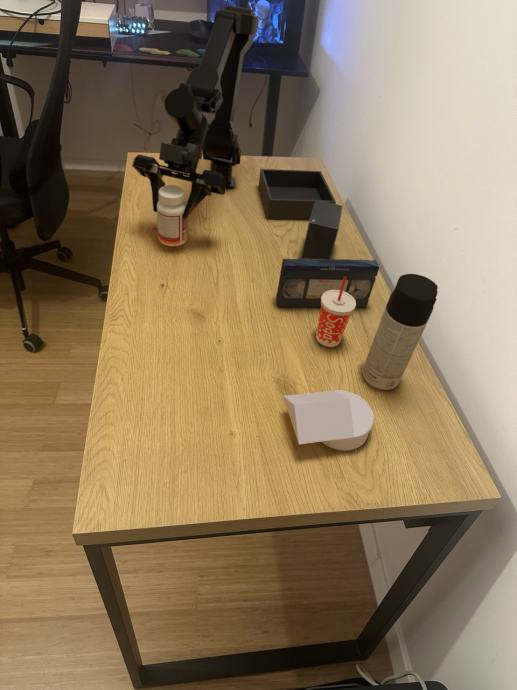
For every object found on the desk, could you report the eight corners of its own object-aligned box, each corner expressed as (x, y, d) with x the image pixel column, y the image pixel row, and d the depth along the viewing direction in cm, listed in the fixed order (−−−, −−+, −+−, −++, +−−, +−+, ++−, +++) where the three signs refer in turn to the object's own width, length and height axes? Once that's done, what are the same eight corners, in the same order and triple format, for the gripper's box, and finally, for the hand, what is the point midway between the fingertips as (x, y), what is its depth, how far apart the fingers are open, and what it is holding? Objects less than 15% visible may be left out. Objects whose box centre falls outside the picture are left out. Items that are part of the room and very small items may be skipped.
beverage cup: (305, 339, 92) (320, 277, 82) (321, 322, 96) (337, 262, 86) (335, 354, 90) (353, 293, 80) (350, 336, 94) (369, 276, 84)
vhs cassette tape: (276, 307, 98) (284, 265, 91) (275, 297, 100) (282, 255, 93) (367, 309, 100) (380, 268, 93) (363, 299, 102) (376, 259, 95)
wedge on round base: (295, 457, 73) (376, 446, 76) (302, 430, 69) (389, 419, 72) (280, 409, 80) (356, 400, 82) (286, 381, 75) (366, 373, 78)
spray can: (401, 370, 89) (442, 279, 75) (396, 397, 84) (439, 305, 70) (365, 358, 90) (398, 267, 76) (358, 384, 85) (392, 292, 71)
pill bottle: (177, 228, 111) (176, 181, 103) (192, 242, 108) (193, 194, 100) (152, 236, 108) (150, 187, 100) (168, 250, 105) (166, 201, 97)
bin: (258, 187, 133) (260, 168, 129) (317, 189, 135) (320, 171, 132) (267, 219, 121) (270, 199, 118) (331, 220, 124) (336, 201, 120)
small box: (328, 271, 108) (339, 228, 101) (299, 264, 109) (307, 222, 102) (334, 245, 116) (344, 204, 109) (306, 239, 116) (314, 198, 109)
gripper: (132, 113, 96) (111, 191, 96) (225, 133, 93) (203, 214, 93) (151, 138, 107) (132, 209, 107) (235, 157, 104) (215, 229, 104)
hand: (169, 215), depth 103 cm, fingers closed on pill bottle, 6 cm apart
